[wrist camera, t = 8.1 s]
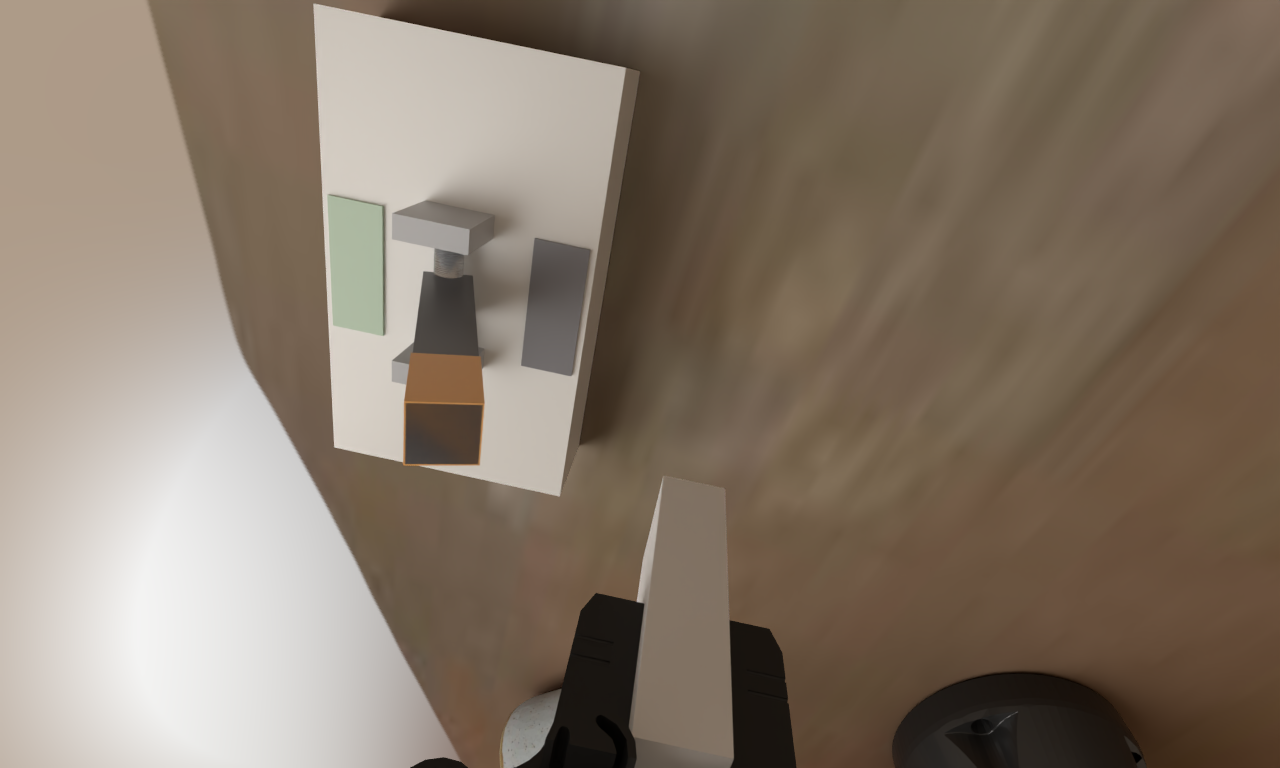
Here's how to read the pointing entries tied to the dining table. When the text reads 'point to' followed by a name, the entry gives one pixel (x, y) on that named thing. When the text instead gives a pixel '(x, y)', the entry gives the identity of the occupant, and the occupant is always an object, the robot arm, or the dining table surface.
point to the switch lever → (444, 371)
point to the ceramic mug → (527, 729)
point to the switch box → (467, 226)
